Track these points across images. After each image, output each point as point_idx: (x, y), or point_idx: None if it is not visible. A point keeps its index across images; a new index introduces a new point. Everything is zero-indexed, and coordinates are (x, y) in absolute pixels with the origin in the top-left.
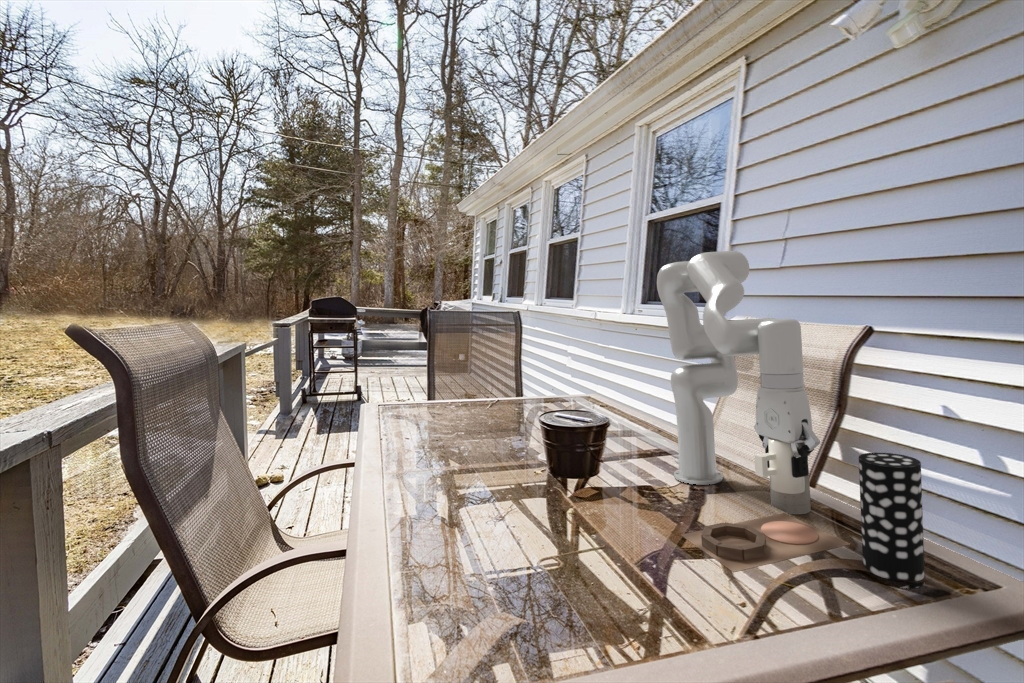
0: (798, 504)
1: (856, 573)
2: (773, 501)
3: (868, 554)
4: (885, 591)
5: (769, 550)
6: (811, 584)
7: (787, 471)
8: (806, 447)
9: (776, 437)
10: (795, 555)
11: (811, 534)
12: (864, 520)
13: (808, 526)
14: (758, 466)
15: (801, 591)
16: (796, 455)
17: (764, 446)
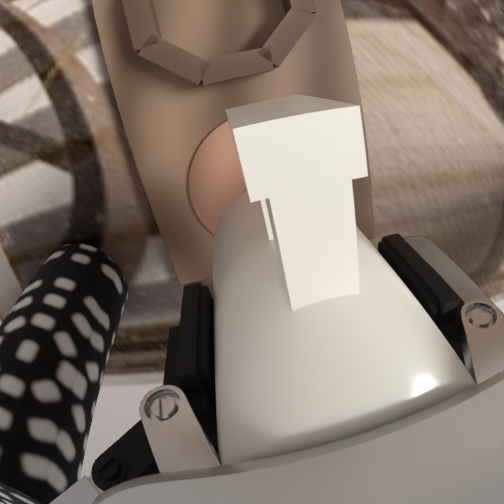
0: None
1: (86, 230)
2: (424, 245)
3: (54, 269)
4: (33, 240)
5: (168, 80)
6: (47, 121)
7: (223, 281)
8: (97, 479)
9: (324, 475)
10: (134, 134)
11: None
12: (29, 317)
13: None
14: (275, 104)
15: (28, 91)
16: (168, 401)
17: (479, 309)
